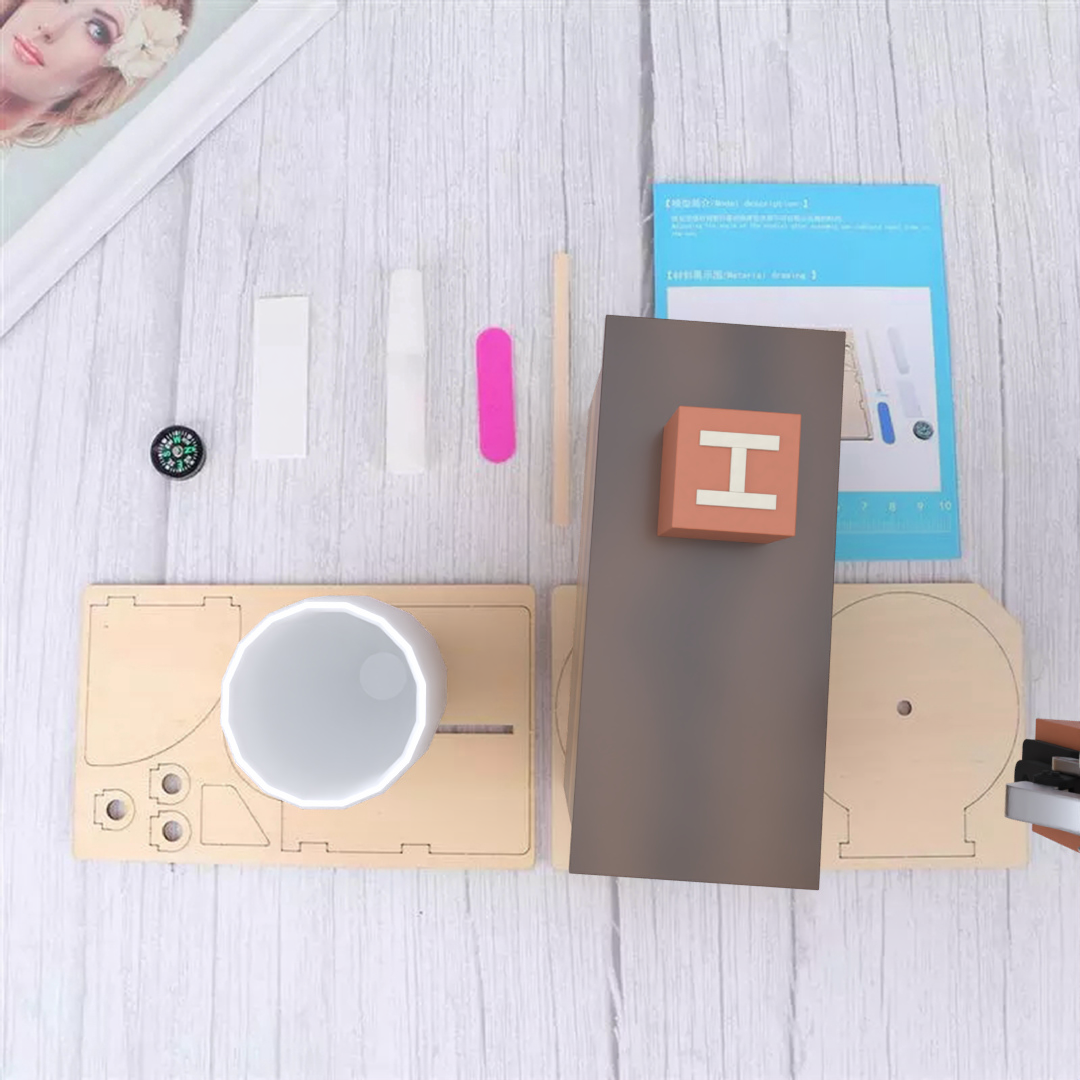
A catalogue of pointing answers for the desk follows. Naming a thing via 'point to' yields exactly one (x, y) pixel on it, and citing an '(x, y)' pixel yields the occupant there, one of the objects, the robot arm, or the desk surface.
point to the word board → (706, 623)
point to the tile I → (1065, 735)
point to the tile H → (729, 475)
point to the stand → (581, 598)
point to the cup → (332, 700)
